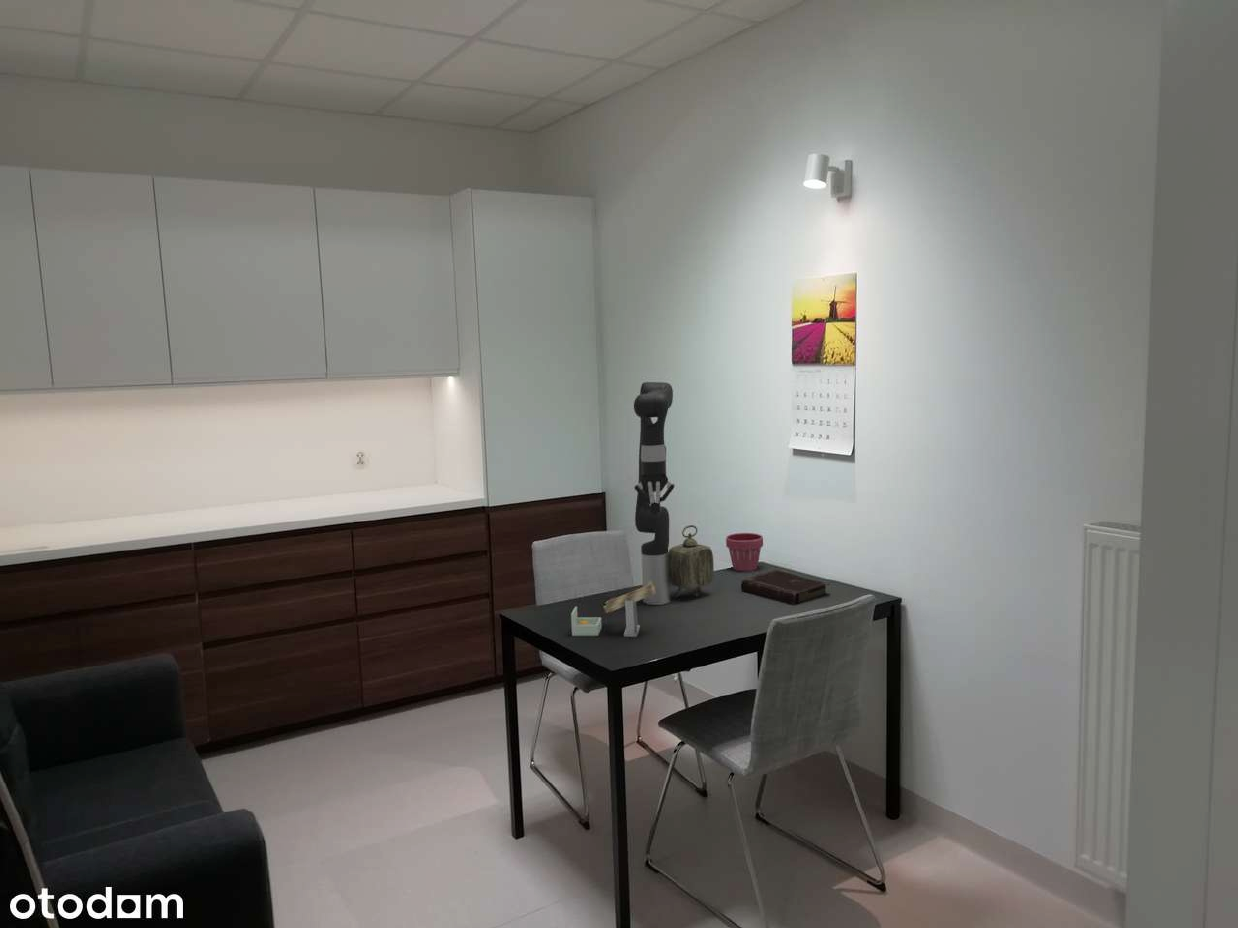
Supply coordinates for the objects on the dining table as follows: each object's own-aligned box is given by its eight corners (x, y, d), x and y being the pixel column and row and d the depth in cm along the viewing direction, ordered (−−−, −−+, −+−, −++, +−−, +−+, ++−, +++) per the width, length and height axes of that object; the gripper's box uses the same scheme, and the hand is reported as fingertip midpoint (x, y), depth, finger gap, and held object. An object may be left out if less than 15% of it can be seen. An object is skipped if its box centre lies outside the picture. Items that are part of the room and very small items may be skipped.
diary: (793, 607, 295) (793, 593, 294) (740, 593, 315) (740, 579, 315) (831, 595, 306) (831, 581, 305) (777, 582, 326) (777, 569, 325)
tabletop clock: (699, 589, 319) (696, 520, 316) (716, 594, 312) (714, 524, 309) (668, 597, 311) (665, 527, 308) (685, 602, 304) (683, 530, 301)
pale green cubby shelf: (576, 628, 280) (575, 606, 280) (601, 627, 279) (600, 606, 279) (572, 636, 273) (570, 613, 272) (597, 636, 272) (596, 613, 271)
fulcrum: (623, 636, 270) (622, 601, 269) (627, 627, 279) (625, 593, 278) (636, 636, 270) (635, 601, 268) (639, 627, 279) (638, 592, 277)
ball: (591, 625, 277) (583, 631, 278) (585, 617, 277) (577, 623, 278) (590, 628, 274) (582, 634, 275) (583, 620, 274) (575, 626, 275)
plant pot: (749, 575, 337) (748, 541, 335) (719, 570, 346) (718, 537, 345) (770, 567, 347) (770, 535, 345) (741, 562, 357) (740, 531, 355)
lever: (605, 614, 272) (600, 604, 272) (610, 603, 283) (606, 594, 283) (654, 594, 269) (650, 584, 269) (657, 584, 281) (653, 574, 280)
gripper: (675, 457, 278) (677, 512, 280) (633, 458, 279) (635, 512, 281) (674, 460, 270) (676, 516, 272) (630, 461, 272) (633, 517, 274)
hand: (655, 514), depth 277 cm, fingers closed
